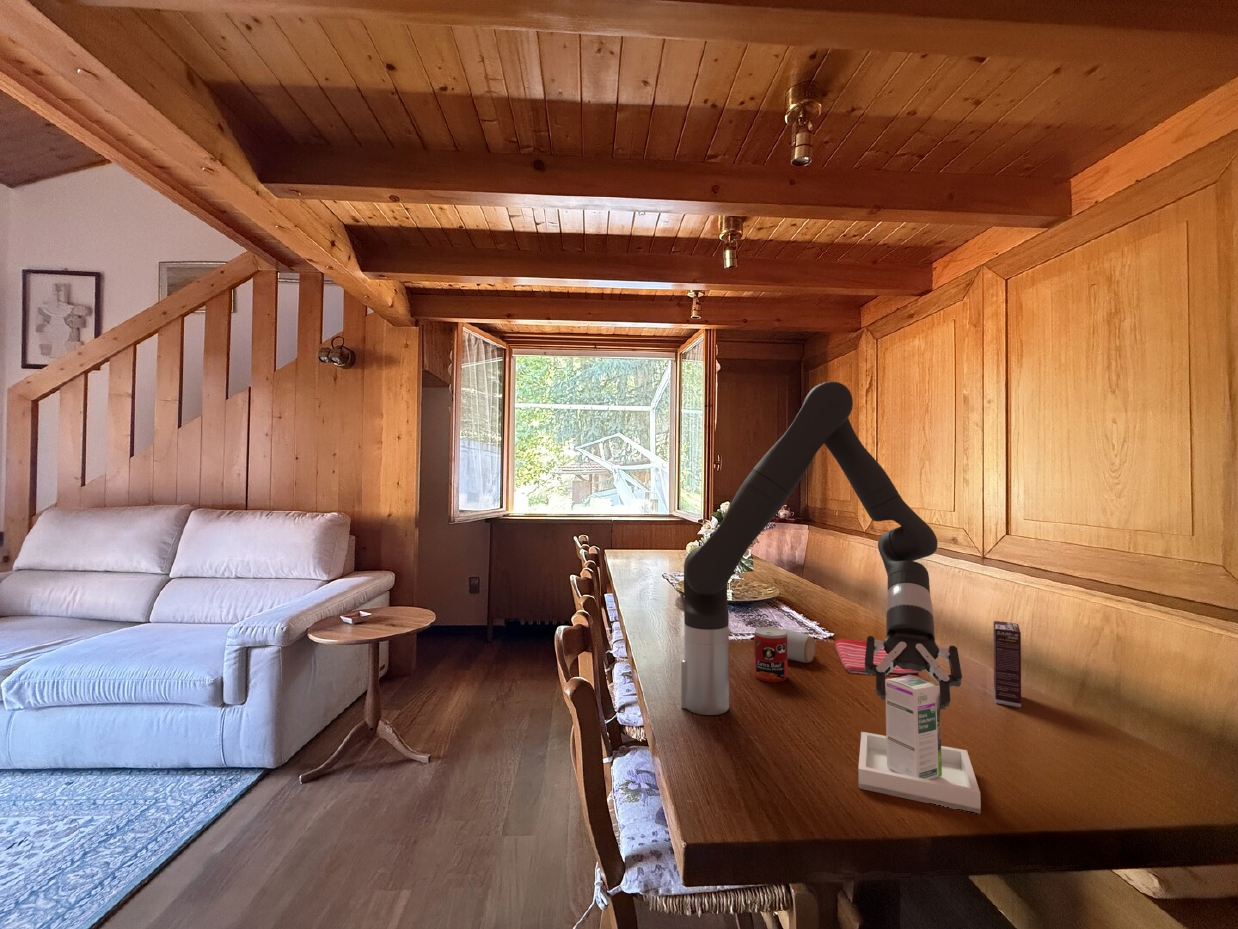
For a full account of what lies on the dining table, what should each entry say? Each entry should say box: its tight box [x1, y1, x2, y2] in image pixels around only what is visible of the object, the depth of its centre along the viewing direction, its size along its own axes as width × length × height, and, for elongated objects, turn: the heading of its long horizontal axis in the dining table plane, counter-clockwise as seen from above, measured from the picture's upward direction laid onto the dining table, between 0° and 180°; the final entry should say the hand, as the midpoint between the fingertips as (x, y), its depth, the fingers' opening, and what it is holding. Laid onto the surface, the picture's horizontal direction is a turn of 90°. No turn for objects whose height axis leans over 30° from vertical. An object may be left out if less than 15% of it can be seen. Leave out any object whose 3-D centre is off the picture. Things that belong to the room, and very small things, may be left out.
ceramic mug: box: [783, 628, 816, 664], centre depth 149 cm, size 11×8×8 cm
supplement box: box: [993, 620, 1022, 709], centre depth 122 cm, size 9×5×16 cm, turn 148°
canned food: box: [753, 626, 788, 683], centre depth 135 cm, size 8×8×11 cm
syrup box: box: [885, 674, 942, 780], centre depth 90 cm, size 6×6×14 cm
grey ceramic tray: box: [857, 731, 982, 815], centre depth 90 cm, size 16×14×3 cm
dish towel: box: [834, 638, 921, 677], centre depth 148 cm, size 17×24×3 cm
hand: (912, 702), depth 90 cm, fingers open, 8 cm apart
